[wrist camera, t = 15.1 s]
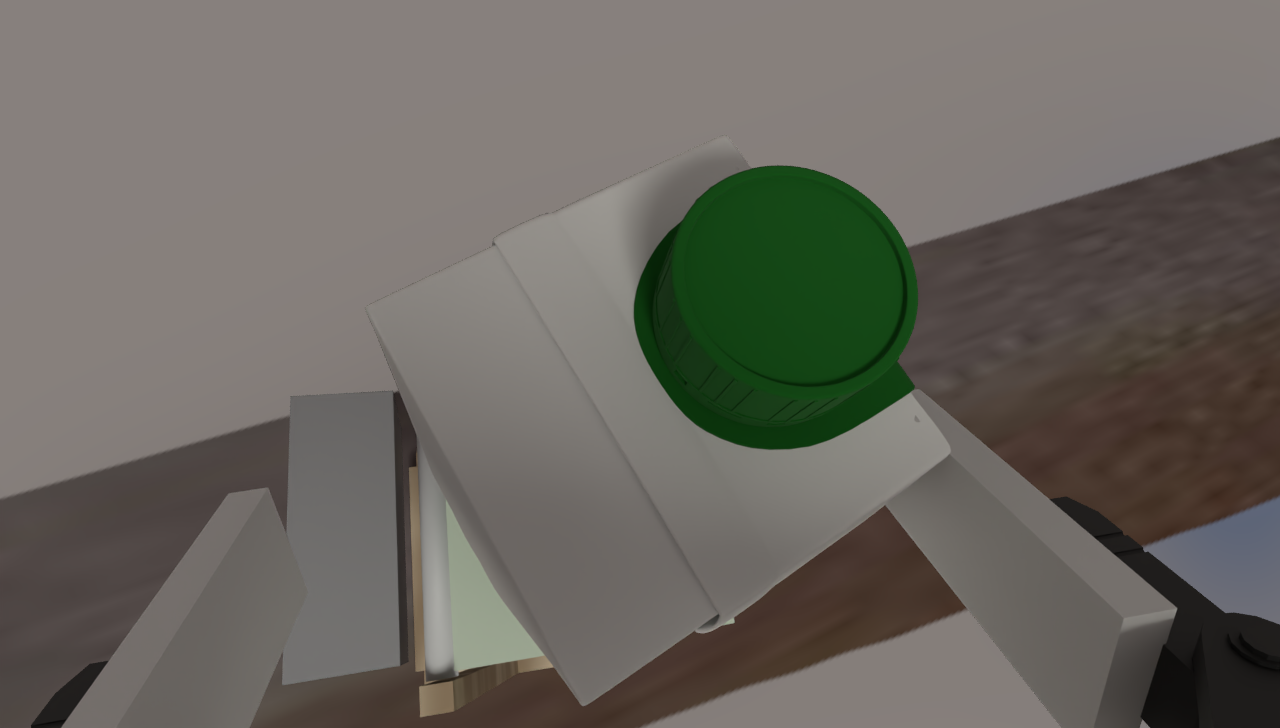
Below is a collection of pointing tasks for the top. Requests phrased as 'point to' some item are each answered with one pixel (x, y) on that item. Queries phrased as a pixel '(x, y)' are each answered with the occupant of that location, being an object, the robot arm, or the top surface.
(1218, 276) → the top surface
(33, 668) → the top surface
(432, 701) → the trapdoor stand
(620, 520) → the soya milk
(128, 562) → the top surface
